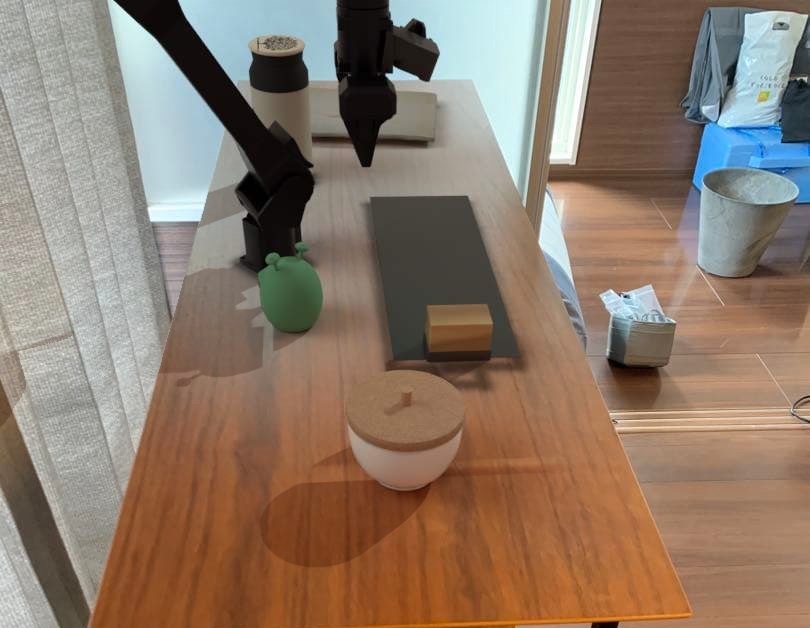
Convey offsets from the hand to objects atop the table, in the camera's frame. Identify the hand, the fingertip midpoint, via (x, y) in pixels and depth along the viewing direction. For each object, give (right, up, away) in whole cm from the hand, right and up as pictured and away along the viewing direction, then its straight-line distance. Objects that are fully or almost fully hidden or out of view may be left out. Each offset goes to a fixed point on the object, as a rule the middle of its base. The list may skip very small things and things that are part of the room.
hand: (364, 151), depth 101 cm
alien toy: (-8, -23, -5) cm, 25 cm away
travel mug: (-13, +6, +22) cm, 26 cm away
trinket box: (+5, -41, -22) cm, 46 cm away
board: (+9, -14, +4) cm, 17 cm away
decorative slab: (-3, +23, +38) cm, 45 cm away
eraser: (+11, -27, -10) cm, 30 cm away
